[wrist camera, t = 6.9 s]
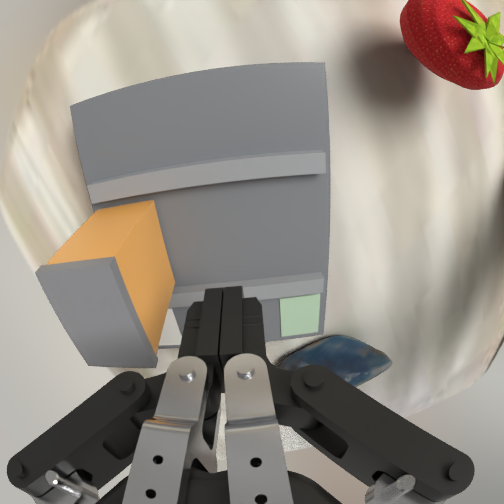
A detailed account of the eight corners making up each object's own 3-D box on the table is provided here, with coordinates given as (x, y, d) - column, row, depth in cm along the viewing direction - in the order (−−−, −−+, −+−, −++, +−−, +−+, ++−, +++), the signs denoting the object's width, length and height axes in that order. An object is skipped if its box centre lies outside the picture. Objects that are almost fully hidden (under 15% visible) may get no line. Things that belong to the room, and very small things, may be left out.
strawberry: (377, -9, 12) (463, -50, 4) (455, 42, 14) (550, 44, 5) (358, 53, 15) (451, 35, 7) (439, 100, 17) (538, 125, 8)
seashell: (260, 392, 28) (340, 438, 25) (300, 328, 25) (394, 381, 22) (281, 363, 33) (350, 403, 30) (317, 304, 30) (395, 348, 27)
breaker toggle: (155, 198, 16) (109, 264, 10) (176, 283, 20) (156, 368, 13) (95, 208, 17) (35, 272, 10) (122, 287, 20) (88, 365, 13)
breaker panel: (311, 67, 16) (329, 61, 12) (315, 310, 26) (325, 341, 23) (91, 102, 16) (63, 107, 13) (154, 325, 26) (146, 355, 23)
